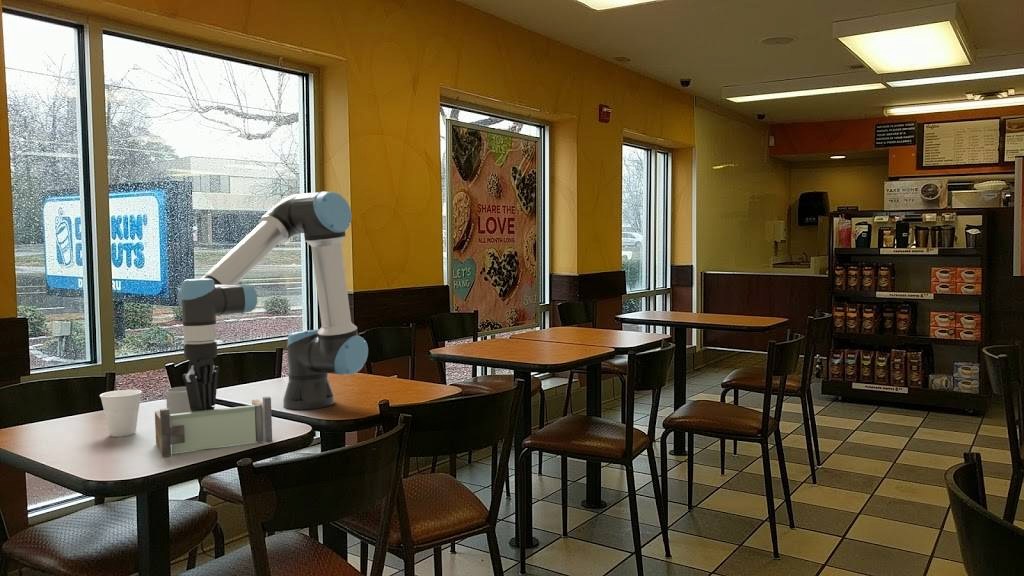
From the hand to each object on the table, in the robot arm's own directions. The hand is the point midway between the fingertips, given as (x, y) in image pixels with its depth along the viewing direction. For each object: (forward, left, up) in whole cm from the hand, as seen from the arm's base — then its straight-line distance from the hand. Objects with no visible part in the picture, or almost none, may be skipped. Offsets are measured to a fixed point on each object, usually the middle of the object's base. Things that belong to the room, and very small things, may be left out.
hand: (204, 437), depth 185 cm
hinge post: (-14, -1, -2) cm, 14 cm away
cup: (+16, -25, -2) cm, 30 cm away
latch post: (+8, -1, -2) cm, 8 cm away
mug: (+1, -23, -2) cm, 23 cm away
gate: (-3, +4, -2) cm, 5 cm away
